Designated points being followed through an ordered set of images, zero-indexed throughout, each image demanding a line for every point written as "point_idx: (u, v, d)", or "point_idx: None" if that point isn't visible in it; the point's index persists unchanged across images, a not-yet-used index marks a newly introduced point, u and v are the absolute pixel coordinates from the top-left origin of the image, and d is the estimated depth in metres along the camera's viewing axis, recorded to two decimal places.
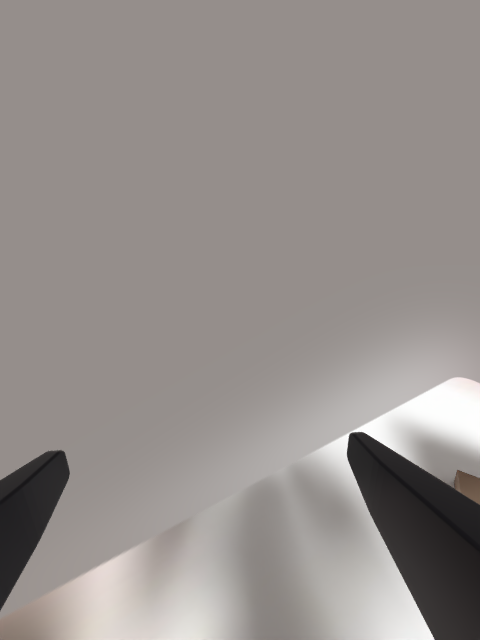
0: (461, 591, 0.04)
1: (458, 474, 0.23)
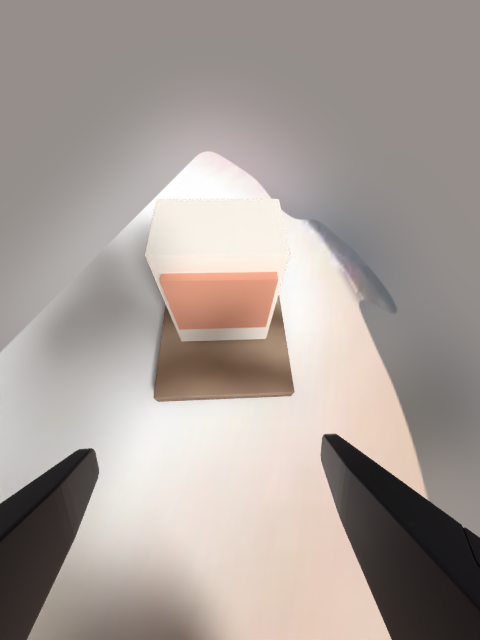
0: (414, 596, 0.04)
1: None
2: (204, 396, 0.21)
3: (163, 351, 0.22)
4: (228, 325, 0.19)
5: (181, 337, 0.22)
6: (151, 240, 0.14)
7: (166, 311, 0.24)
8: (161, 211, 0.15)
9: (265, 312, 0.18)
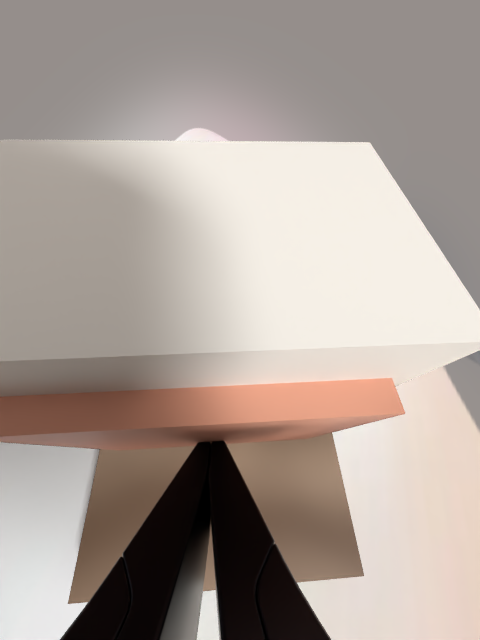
0: (218, 616, 0.04)
1: None
2: None
3: (101, 476, 0.12)
4: (226, 443, 0.09)
5: None
6: None
7: None
8: None
9: (317, 434, 0.07)
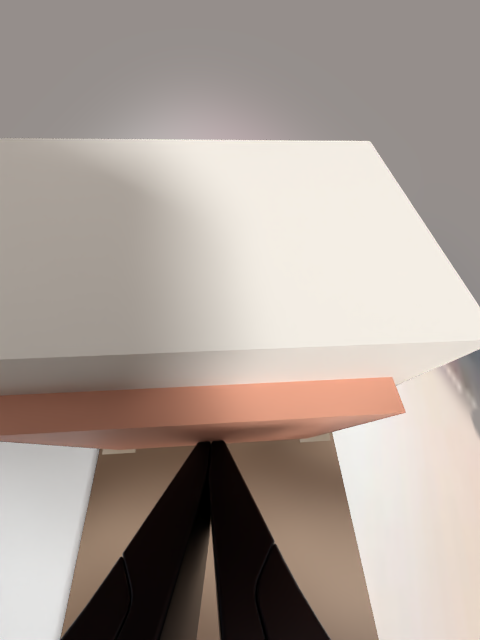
0: (218, 615, 0.04)
1: None
2: None
3: (77, 599, 0.09)
4: (226, 442, 0.09)
5: None
6: None
7: (99, 468, 0.12)
8: None
9: (317, 433, 0.07)
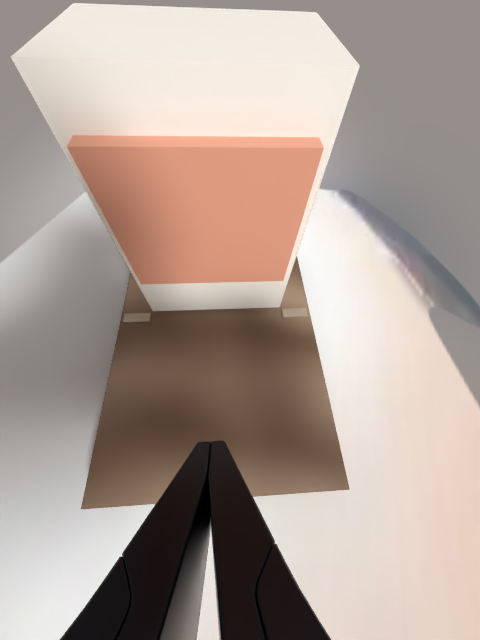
0: (218, 616, 0.04)
1: None
2: None
3: (109, 407, 0.12)
4: (222, 276, 0.11)
5: (151, 303, 0.14)
6: (38, 41, 0.06)
7: (121, 331, 0.15)
8: (77, 13, 0.07)
9: (286, 248, 0.10)
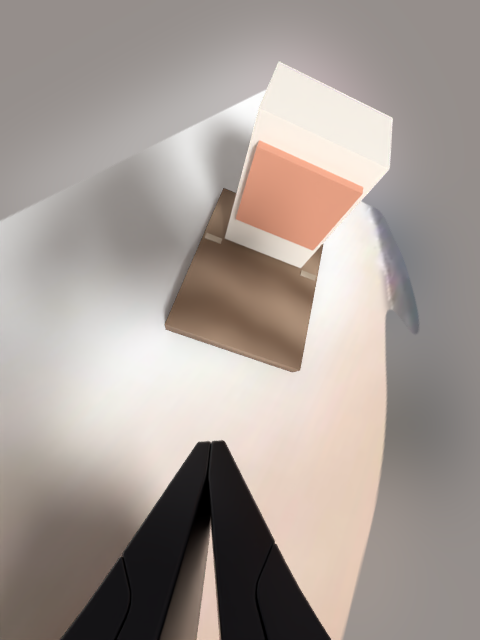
0: (218, 615, 0.04)
1: (222, 192, 0.25)
2: (214, 342, 0.20)
3: (187, 282, 0.21)
4: (282, 233, 0.19)
5: (227, 233, 0.22)
6: (267, 97, 0.13)
7: (201, 242, 0.22)
8: (281, 75, 0.14)
9: (324, 232, 0.18)
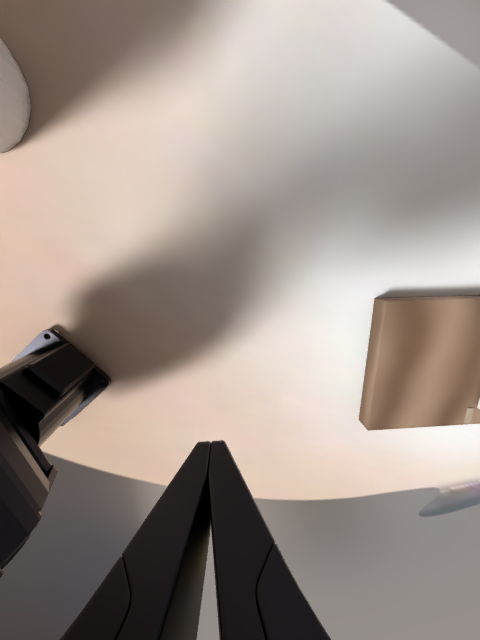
0: (218, 616, 0.04)
1: None
2: (376, 350, 0.20)
3: (436, 304, 0.19)
4: None
5: None
6: None
7: None
8: None
9: None
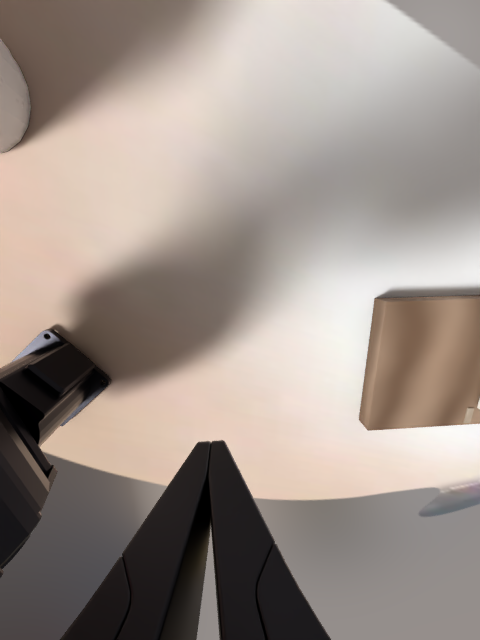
0: (218, 615, 0.04)
1: None
2: (376, 350, 0.20)
3: (436, 304, 0.19)
4: None
5: None
6: None
7: None
8: None
9: None
